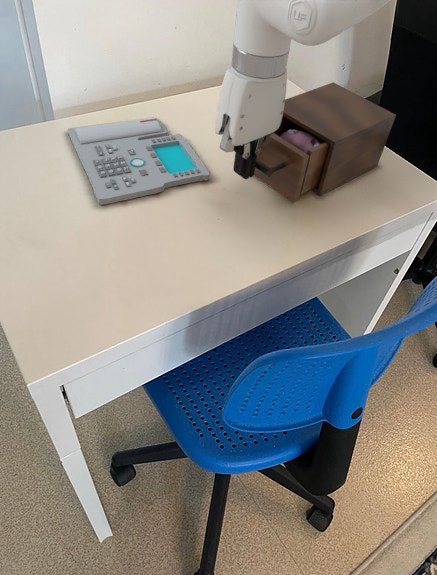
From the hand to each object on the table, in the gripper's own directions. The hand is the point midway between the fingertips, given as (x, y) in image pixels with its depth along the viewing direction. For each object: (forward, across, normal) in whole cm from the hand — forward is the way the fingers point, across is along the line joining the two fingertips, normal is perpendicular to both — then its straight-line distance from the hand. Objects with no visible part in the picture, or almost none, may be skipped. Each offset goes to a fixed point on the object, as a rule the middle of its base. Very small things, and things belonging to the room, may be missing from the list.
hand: (243, 173), depth 80 cm
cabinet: (+5, -21, 0) cm, 21 cm away
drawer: (+4, -12, 0) cm, 12 cm away
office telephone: (+5, +7, -20) cm, 22 cm away
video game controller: (+3, -13, 0) cm, 13 cm away
